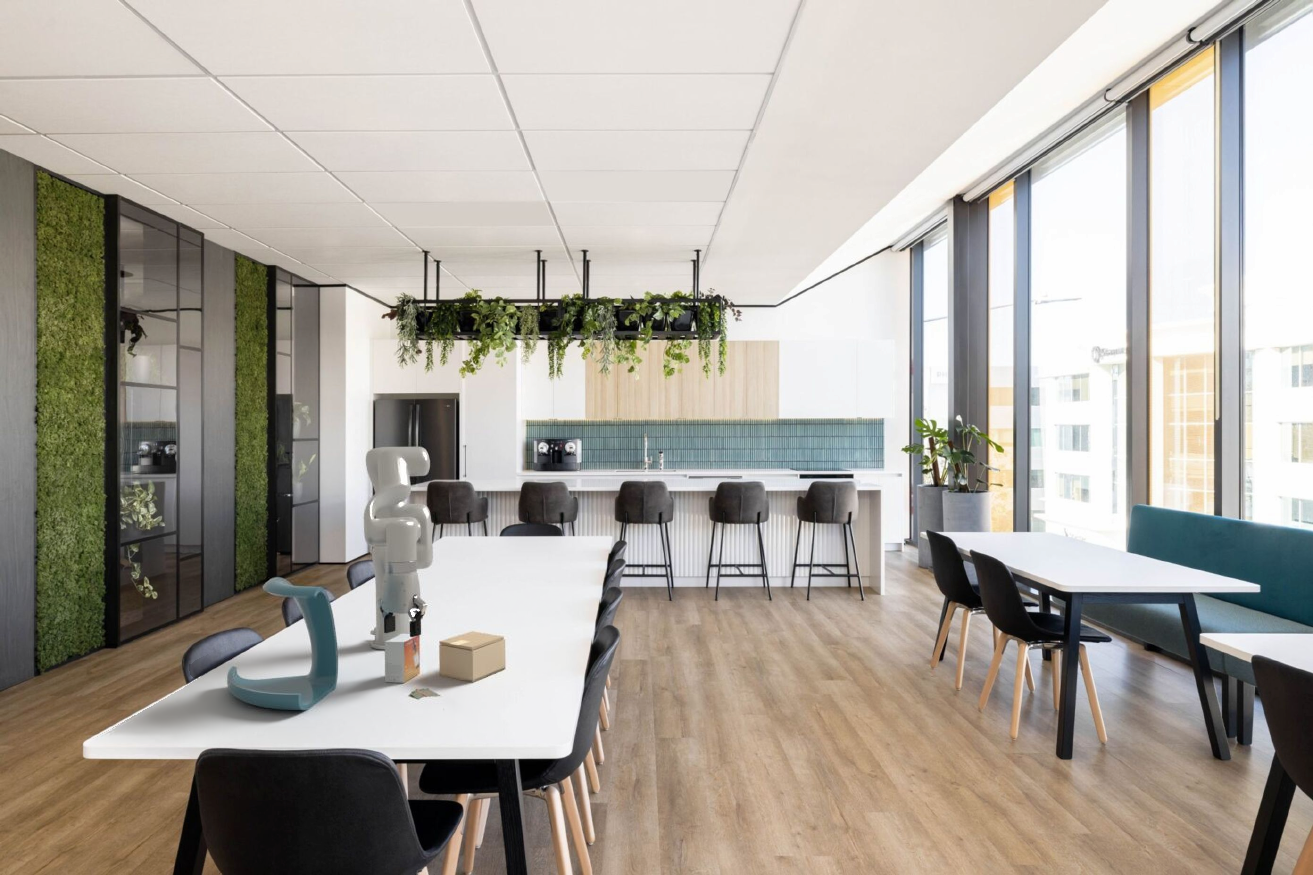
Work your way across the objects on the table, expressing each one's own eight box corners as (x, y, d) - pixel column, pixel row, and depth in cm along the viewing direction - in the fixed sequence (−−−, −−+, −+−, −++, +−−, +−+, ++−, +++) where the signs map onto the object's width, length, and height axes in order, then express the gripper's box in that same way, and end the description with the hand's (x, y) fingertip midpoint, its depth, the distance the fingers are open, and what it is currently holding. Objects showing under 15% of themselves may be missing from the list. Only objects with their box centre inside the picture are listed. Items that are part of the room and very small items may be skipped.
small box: (404, 683, 183) (403, 642, 183) (384, 682, 184) (383, 641, 184) (420, 673, 191) (420, 633, 191) (401, 672, 192) (401, 632, 192)
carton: (439, 675, 189) (439, 644, 189) (472, 662, 199) (472, 633, 199) (473, 682, 183) (472, 651, 183) (505, 669, 193) (505, 639, 193)
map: (425, 689, 179) (425, 685, 179) (470, 710, 165) (470, 706, 165) (406, 695, 175) (406, 691, 175) (451, 717, 161) (450, 713, 161)
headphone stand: (298, 716, 162) (305, 592, 163) (174, 712, 162) (183, 588, 164) (349, 684, 188) (355, 577, 189) (243, 680, 188) (249, 574, 190)
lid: (438, 644, 189) (438, 641, 189) (472, 633, 199) (472, 630, 199) (470, 650, 183) (470, 647, 183) (503, 639, 193) (503, 636, 193)
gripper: (367, 567, 189) (368, 633, 188) (412, 571, 180) (414, 640, 179) (390, 563, 195) (391, 627, 195) (436, 567, 186) (437, 634, 186)
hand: (402, 633), depth 187 cm, fingers open, 9 cm apart
